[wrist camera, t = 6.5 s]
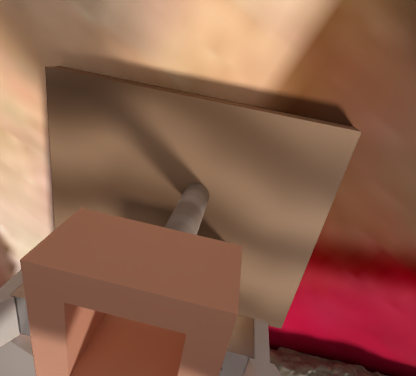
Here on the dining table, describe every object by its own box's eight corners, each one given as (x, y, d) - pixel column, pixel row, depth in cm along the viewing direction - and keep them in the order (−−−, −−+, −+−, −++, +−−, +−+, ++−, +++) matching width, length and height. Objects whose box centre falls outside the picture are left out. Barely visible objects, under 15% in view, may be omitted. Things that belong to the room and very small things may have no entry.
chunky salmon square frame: (242, 245, 10) (237, 314, 7) (211, 354, 13) (200, 435, 10) (80, 207, 10) (20, 260, 8) (83, 321, 13) (38, 389, 10)
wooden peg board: (279, 314, 26) (288, 405, 19) (67, 261, 27) (3, 329, 20) (353, 126, 18) (411, 164, 12) (59, 66, 20) (-44, 68, 13)
